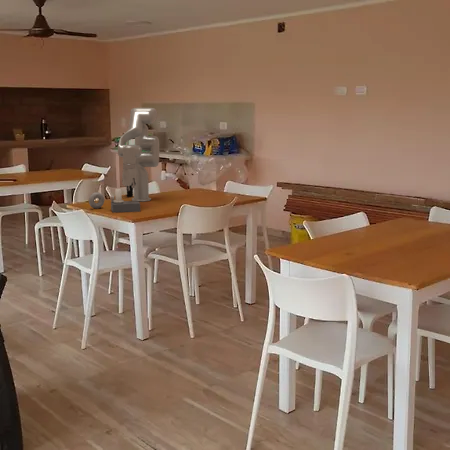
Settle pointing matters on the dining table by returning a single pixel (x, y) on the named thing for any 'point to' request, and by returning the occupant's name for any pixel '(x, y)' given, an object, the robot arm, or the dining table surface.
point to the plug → (118, 196)
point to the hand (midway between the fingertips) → (129, 196)
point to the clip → (122, 197)
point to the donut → (92, 198)
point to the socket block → (125, 206)
